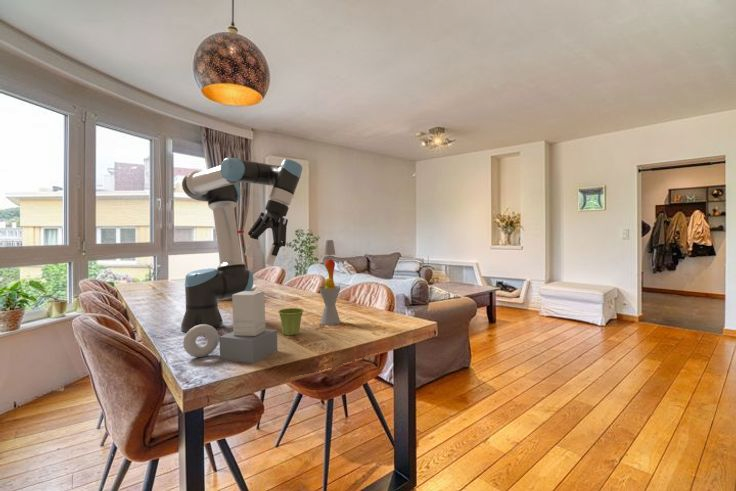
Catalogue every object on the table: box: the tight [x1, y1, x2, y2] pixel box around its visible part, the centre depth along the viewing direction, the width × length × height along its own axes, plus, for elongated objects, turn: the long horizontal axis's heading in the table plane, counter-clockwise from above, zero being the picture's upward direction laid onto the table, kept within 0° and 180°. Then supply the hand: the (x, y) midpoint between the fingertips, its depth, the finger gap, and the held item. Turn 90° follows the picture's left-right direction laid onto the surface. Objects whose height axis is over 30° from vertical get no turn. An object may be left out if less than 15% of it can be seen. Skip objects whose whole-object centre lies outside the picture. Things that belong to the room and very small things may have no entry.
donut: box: [182, 324, 220, 358], centre depth 108 cm, size 10×4×10 cm, turn 124°
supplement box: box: [231, 290, 266, 336], centre depth 109 cm, size 7×7×13 cm
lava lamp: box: [319, 239, 341, 326], centre depth 149 cm, size 9×9×35 cm
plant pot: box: [278, 307, 304, 336], centre depth 133 cm, size 9×9×9 cm
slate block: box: [219, 328, 278, 364], centre depth 110 cm, size 12×12×7 cm
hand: (258, 260), depth 122 cm, fingers open, 13 cm apart
